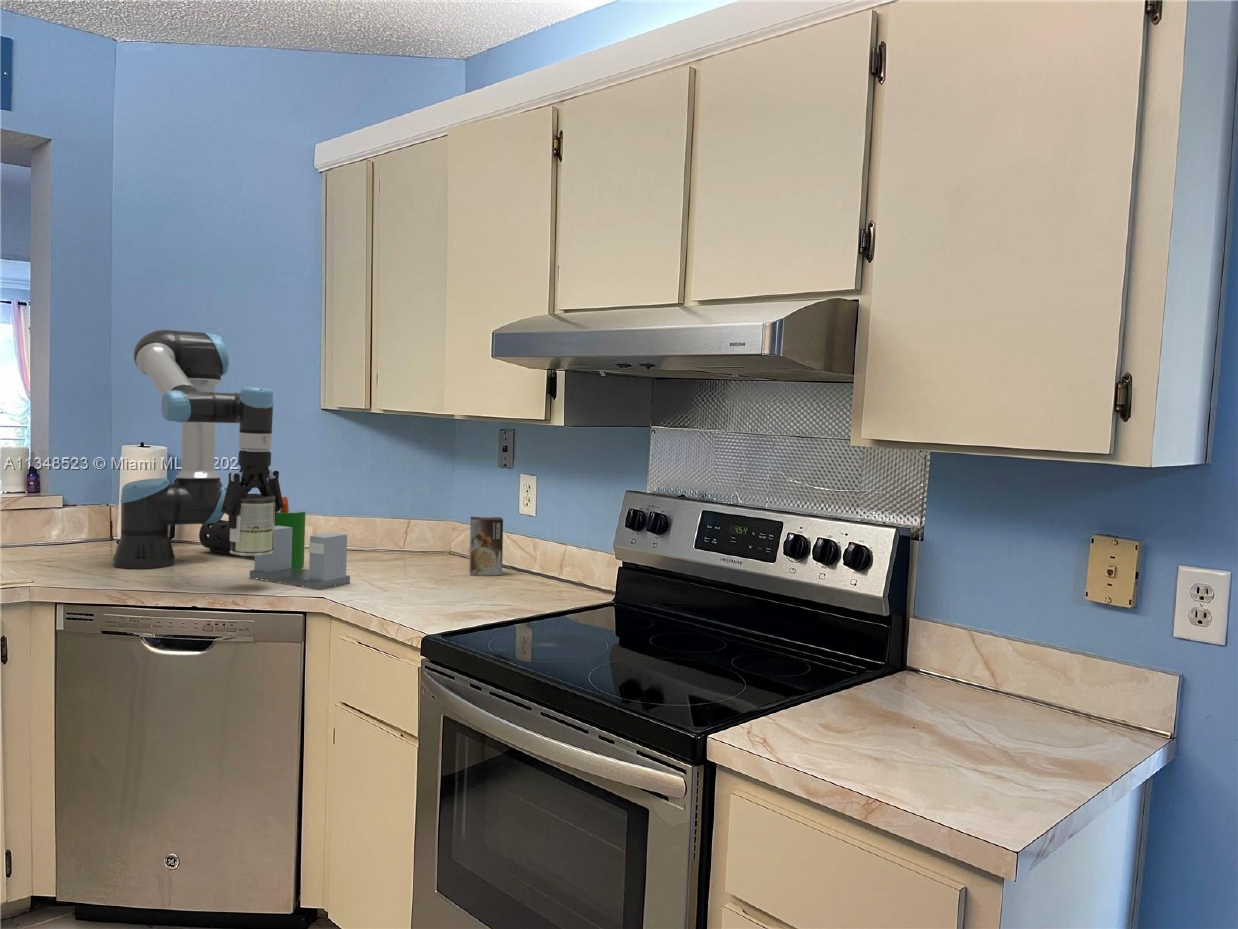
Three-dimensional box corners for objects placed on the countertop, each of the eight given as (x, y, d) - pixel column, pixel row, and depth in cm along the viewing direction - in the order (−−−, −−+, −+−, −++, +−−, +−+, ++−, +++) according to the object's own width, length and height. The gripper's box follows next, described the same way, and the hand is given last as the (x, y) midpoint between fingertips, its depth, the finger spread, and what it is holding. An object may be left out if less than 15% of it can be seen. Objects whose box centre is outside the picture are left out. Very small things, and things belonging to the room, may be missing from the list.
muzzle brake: (222, 550, 287) (223, 516, 287) (294, 559, 277) (295, 524, 276) (197, 553, 278) (198, 519, 278) (271, 563, 268) (272, 527, 267)
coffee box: (500, 571, 271) (502, 516, 270) (502, 576, 265) (504, 519, 264) (468, 571, 269) (470, 516, 268) (469, 575, 263) (471, 519, 262)
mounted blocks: (252, 570, 245) (253, 528, 245) (277, 566, 253) (278, 525, 252) (322, 581, 235) (323, 538, 234) (346, 576, 243) (347, 534, 242)
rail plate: (249, 578, 245) (249, 570, 245) (281, 572, 255) (281, 565, 254) (319, 589, 234) (319, 582, 234) (349, 583, 244) (350, 575, 244)
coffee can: (220, 552, 230) (221, 495, 229) (253, 547, 240) (255, 492, 238) (249, 557, 226) (251, 500, 225) (282, 552, 235) (284, 496, 234)
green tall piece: (307, 564, 268) (309, 495, 267) (297, 570, 259) (298, 498, 258) (272, 563, 268) (273, 493, 267) (260, 568, 259) (262, 496, 258)
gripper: (228, 452, 219) (226, 546, 221) (300, 449, 239) (297, 535, 241) (206, 450, 222) (203, 542, 224) (278, 447, 242) (275, 532, 244)
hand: (252, 539), depth 232 cm, fingers closed on coffee can, 10 cm apart
